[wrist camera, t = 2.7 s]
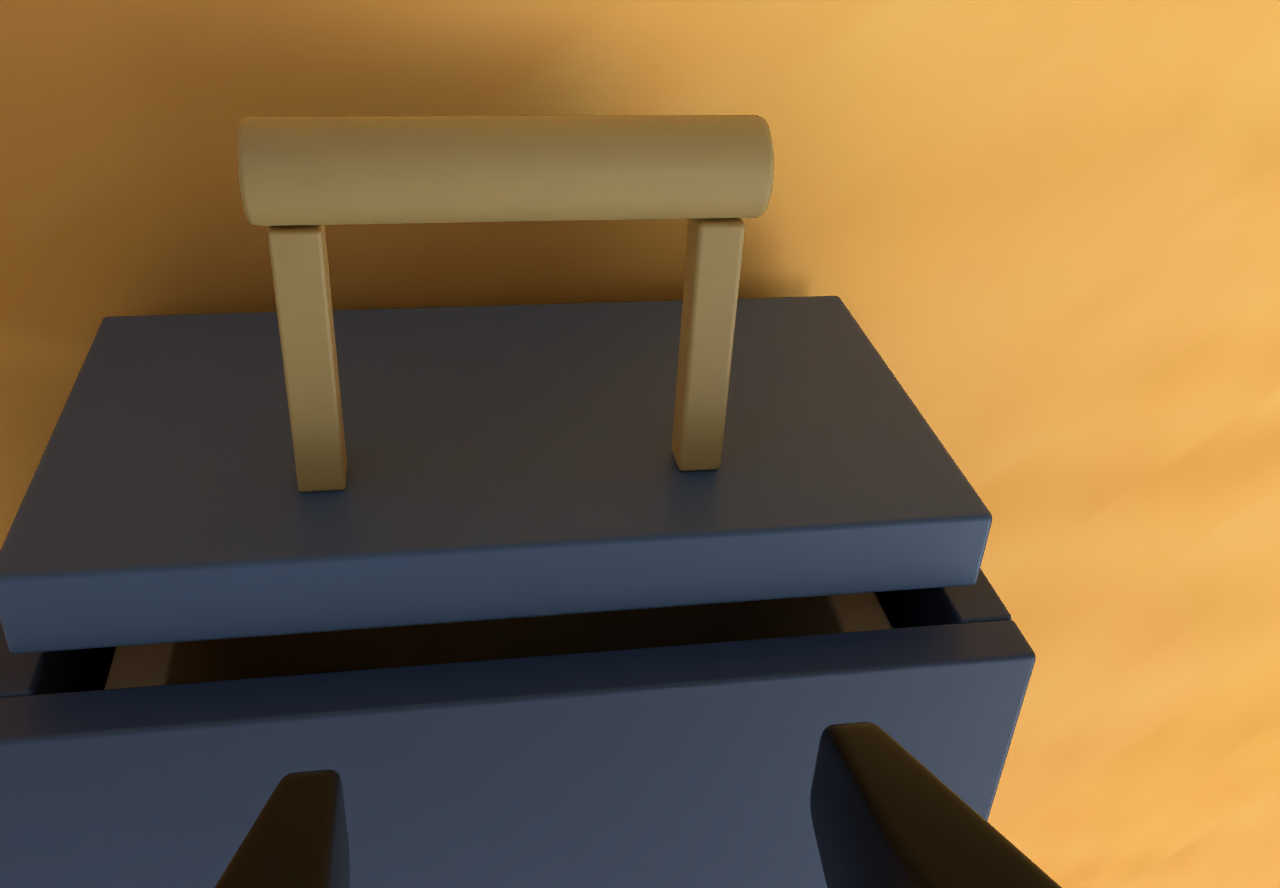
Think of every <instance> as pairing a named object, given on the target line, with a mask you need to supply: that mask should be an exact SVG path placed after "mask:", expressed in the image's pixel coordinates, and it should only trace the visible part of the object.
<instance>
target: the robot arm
mask: <svg viewBox="0 0 1280 888" xmlns="http://www.w3.org/2000/svg"><path fill="white" fill-rule="evenodd" d="M810 810H811V818H812V824H813V828H814V833H815V837H816V841H817V846H818V850H819V854H820V859H821V863H822V867H823V871H824V876H825V880H826V884H827V888H1061V887H1060V886H1059V885H1058V884H1057V883H1056V882H1055V881H1054V880H1052V879H1051V878H1050V877H1049V876H1048V875H1047V874H1046V873H1045V872H1043V871H1042V870H1041V869H1040V868H1039V867H1038V866H1037V865H1035V864H1034V863H1033V862H1032V861H1031V860H1030V859H1029V858H1028V857H1026V856H1025V855H1024V854H1023V853H1022V852H1021V851H1020V850H1019V849H1017V848H1016V847H1015V846H1014V845H1013V844H1012V843H1011V842H1010V841H1008V840H1007V839H1006V838H1005V837H1004V836H1003V835H1002V834H1000V833H999V832H998V831H997V830H996V829H995V828H994V827H993V826H991V825H990V824H989V823H988V822H987V821H986V820H985V819H984V818H982V817H981V816H980V815H979V814H978V813H977V812H976V811H974V810H973V809H972V808H971V807H970V806H969V805H968V804H967V803H965V802H964V801H963V800H962V799H961V798H960V797H959V796H958V795H956V794H955V793H954V792H953V791H952V790H951V789H950V788H948V787H947V786H946V785H945V784H944V783H943V782H942V781H941V780H939V779H938V778H937V777H936V776H935V775H934V774H933V773H932V772H930V771H929V770H928V769H927V768H926V767H925V766H924V765H923V764H921V763H920V762H919V761H918V760H917V759H916V758H915V757H913V756H912V755H911V754H910V753H909V752H908V751H907V750H906V749H904V748H903V747H902V746H901V745H900V744H899V743H898V742H897V741H895V740H894V739H893V738H892V737H891V736H890V735H889V734H887V733H886V732H885V731H884V730H883V729H882V728H880V727H879V726H878V725H876V724H874V723H871V722H855V723H844V724H833V725H830V726H828V727H826V728H825V729H824V731H823V733H822V735H821V739H820V743H819V749H818V754H817V760H816V765H815V771H814V776H813V782H812V787H811V794H810ZM214 888H350V862H349V843H348V833H347V825H346V816H345V807H344V799H343V790H342V782H341V778H340V775H339V774H338V772H336V771H334V770H331V769H328V770H317V771H306V772H295V773H290V774H288V775H286V776H284V777H283V778H282V779H281V781H280V782H279V783H278V785H277V786H276V788H275V790H274V791H273V793H272V794H271V796H270V798H269V799H268V801H267V803H266V804H265V806H264V807H263V809H262V811H261V812H260V814H259V816H258V817H257V819H256V821H255V822H254V824H253V825H252V827H251V829H250V830H249V832H248V834H247V835H246V837H245V839H244V840H243V842H242V843H241V845H240V847H239V848H238V850H237V852H236V853H235V855H234V856H233V858H232V860H231V861H230V863H229V865H228V866H227V868H226V870H225V871H224V873H223V874H222V876H221V878H220V879H219V881H218V883H217V884H216V886H215V887H214Z"/></svg>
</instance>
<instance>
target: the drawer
mask: <svg viewBox="0 0 1280 888" xmlns="http://www.w3.org/2000/svg"><path fill="white" fill-rule="evenodd" d="M237 166H238V178H239V187H240V194H241V200H242V205H243V209H244V213H245V215H246V217H247V219H248V221H249V223H250V224H253V225H255V226H269V230H268V242H269V251H270V259H271V267H272V276H273V284H274V292H275V300H276V309H277V312H253V313H218V314H183V315H148V316H112V317H105V318H103V320H102V322H101V325H100V327H99V329H98V331H97V334H96V336H95V338H94V340H93V343H92V345H91V347H90V350H89V352H88V354H87V356H86V359H85V361H84V363H83V365H82V368H81V370H80V372H79V374H78V377H77V379H76V381H75V383H74V386H73V388H72V390H71V392H70V395H69V397H68V399H67V401H66V404H65V406H64V408H63V410H62V413H61V415H60V417H59V420H58V422H57V424H56V426H55V429H54V431H53V433H52V435H51V438H50V440H49V442H48V444H47V447H46V449H45V451H44V453H43V456H42V458H41V460H40V462H39V465H38V467H37V469H36V471H35V474H34V476H33V478H32V480H31V483H30V485H29V487H28V490H27V492H26V494H25V496H24V499H23V501H22V503H21V505H20V508H19V510H18V512H17V514H16V517H15V519H14V521H13V523H12V526H11V528H10V530H9V532H8V535H7V537H6V539H5V541H4V544H3V546H2V548H1V550H0V621H1V624H2V627H3V631H4V634H5V637H6V641H7V644H8V647H9V651H10V652H11V653H15V654H20V653H34V652H48V651H62V650H76V649H90V648H103V647H116V649H115V652H114V656H113V660H112V663H111V667H110V670H109V674H108V677H107V681H106V684H105V688H104V690H106V689H119V688H132V687H145V686H158V685H171V684H184V683H197V682H210V681H223V680H235V679H248V678H261V677H274V676H287V675H300V674H313V673H326V672H339V671H352V670H365V669H378V668H391V667H404V666H417V665H429V664H442V663H455V662H468V661H481V660H494V659H507V658H520V657H533V656H546V655H559V654H572V653H585V652H598V651H611V650H623V649H636V648H649V647H662V646H675V645H688V644H701V643H714V642H727V641H740V640H753V639H766V638H779V637H792V636H805V635H817V634H830V633H843V632H856V631H869V630H882V629H893V628H892V626H891V624H890V622H889V620H888V618H887V616H886V614H885V612H884V611H883V609H882V607H881V605H880V603H879V601H878V599H877V597H876V595H875V593H874V592H884V591H897V590H911V589H925V588H939V587H953V586H967V585H973V584H975V583H976V582H977V578H978V574H979V570H980V566H981V562H982V558H983V554H984V550H985V546H986V542H987V538H988V534H989V530H990V527H991V523H992V516H991V513H990V512H989V510H988V509H987V507H986V506H985V505H984V503H983V502H982V500H981V499H980V497H979V496H978V495H977V493H976V492H975V490H974V489H973V487H972V486H971V485H970V483H969V482H968V480H967V479H966V478H965V476H964V475H963V473H962V472H961V470H960V469H959V468H958V466H957V465H956V463H955V462H954V460H953V459H952V458H951V456H950V455H949V453H948V452H947V450H946V449H945V448H944V446H943V445H942V443H941V442H940V440H939V439H938V438H937V436H936V435H935V433H934V432H933V430H932V429H931V428H930V426H929V425H928V423H927V422H926V420H925V419H924V418H923V416H922V415H921V413H920V412H919V410H918V409H917V408H916V406H915V405H914V403H913V402H912V400H911V399H910V398H909V396H908V395H907V393H906V392H905V390H904V389H903V388H902V386H901V385H900V383H899V382H898V381H897V379H896V378H895V376H894V375H893V373H892V372H891V371H890V369H889V368H888V366H887V365H886V363H885V362H884V361H883V359H882V358H881V356H880V355H879V353H878V352H877V351H876V349H875V348H874V346H873V345H872V343H871V342H870V341H869V339H868V338H867V336H866V335H865V333H864V332H863V331H862V329H861V328H860V326H859V325H858V323H857V322H856V321H855V319H854V318H853V316H852V315H851V313H850V312H849V311H848V309H847V308H846V306H845V305H844V303H843V302H842V301H841V299H840V298H839V297H837V296H815V297H780V298H744V299H738V291H739V281H740V272H741V262H742V252H743V242H744V233H745V225H744V222H743V221H742V219H741V218H755V217H758V216H760V215H762V214H763V213H764V212H765V210H766V208H767V206H768V203H769V200H770V196H771V192H772V186H773V177H774V152H773V143H772V138H771V134H770V130H769V127H768V124H767V122H766V121H765V119H764V118H762V117H759V116H757V115H659V116H248V117H245V118H243V119H242V120H241V121H240V125H239V128H238V134H237ZM643 219H689V226H688V239H687V252H686V265H685V278H684V291H683V300H674V301H639V302H604V303H569V304H534V305H499V306H464V307H428V308H393V309H358V310H333V309H332V298H331V287H330V277H329V266H328V255H327V245H326V234H325V225H347V224H406V223H465V222H524V221H584V220H643Z"/></svg>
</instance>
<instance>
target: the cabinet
mask: <svg viewBox="0 0 1280 888" xmlns="http://www.w3.org/2000/svg"><path fill="white" fill-rule="evenodd" d="M874 593H875V595H876V597H877V599H878V601H879V603H880V605H881V607H882V609H883V611H884V612H885V614H886V616H887V618H888V620H889V622H890V624H891V626H892V628H893V629H882V630H869V631H856V632H843V633H830V634H817V635H805V636H792V637H779V638H766V639H753V640H740V641H727V642H714V643H701V644H688V645H675V646H662V647H649V648H636V649H623V650H611V651H598V652H585V653H572V654H559V655H546V656H533V657H520V658H507V659H494V660H481V661H468V662H455V663H442V664H429V665H417V666H404V667H391V668H378V669H365V670H352V671H339V672H326V673H313V674H300V675H287V676H274V677H261V678H248V679H235V680H223V681H210V682H197V683H184V684H171V685H158V686H145V687H132V688H119V689H106V690H104V688H105V684H106V681H107V677H108V674H109V670H110V667H111V663H112V660H113V656H114V652H115V649H116V647H103V648H90V649H76V650H62V651H48V652H34V653H20V654H15V653H11V652H10V651H9V647H8V644H7V641H6V637H5V634H4V631H3V627H2V624H1V621H0V888H214V887H215V886H216V884H217V883H218V881H219V879H220V878H221V876H222V874H223V873H224V871H225V870H226V868H227V866H228V865H229V863H230V861H231V860H232V858H233V856H234V855H235V853H236V852H237V850H238V848H239V847H240V845H241V843H242V842H243V840H244V839H245V837H246V835H247V834H248V832H249V830H250V829H251V827H252V825H253V824H254V822H255V821H256V819H257V817H258V816H259V814H260V812H261V811H262V809H263V807H264V806H265V804H266V803H267V801H268V799H269V798H270V796H271V794H272V793H273V791H274V790H275V788H276V786H277V785H278V783H279V782H280V781H281V779H282V778H283V777H284V776H286V775H288V774H290V773H295V772H306V771H317V770H328V769H331V770H334V771H336V772H338V774H339V775H340V778H341V782H342V790H343V799H344V807H345V816H346V825H347V833H348V843H349V862H350V888H827V884H826V880H825V876H824V871H823V867H822V863H821V859H820V854H819V850H818V846H817V841H816V837H815V833H814V828H813V824H812V818H811V810H810V794H811V787H812V782H813V776H814V771H815V765H816V760H817V754H818V749H819V743H820V739H821V735H822V733H823V731H824V729H825V728H826V727H828V726H830V725H833V724H844V723H855V722H871V723H874V724H876V725H878V726H879V727H880V728H882V729H883V730H884V731H885V732H886V733H887V734H889V735H890V736H891V737H892V738H893V739H894V740H895V741H897V742H898V743H899V744H900V745H901V746H902V747H903V748H904V749H906V750H907V751H908V752H909V753H910V754H911V755H912V756H913V757H915V758H916V759H917V760H918V761H919V762H920V763H921V764H923V765H924V766H925V767H926V768H927V769H928V770H929V771H930V772H932V773H933V774H934V775H935V776H936V777H937V778H938V779H939V780H941V781H942V782H943V783H944V784H945V785H946V786H947V787H948V788H950V789H951V790H952V791H953V792H954V793H955V794H956V795H958V796H959V797H960V798H961V799H962V800H963V801H964V802H965V803H967V804H968V805H969V806H970V807H971V808H972V809H973V810H974V811H976V812H977V813H978V814H979V815H980V816H981V817H982V818H984V819H985V820H986V821H987V820H988V817H989V814H990V810H991V807H992V803H993V800H994V797H995V793H996V790H997V787H998V783H999V780H1000V777H1001V773H1002V770H1003V767H1004V763H1005V760H1006V757H1007V753H1008V750H1009V746H1010V743H1011V740H1012V736H1013V733H1014V730H1015V726H1016V723H1017V720H1018V716H1019V713H1020V710H1021V706H1022V703H1023V700H1024V696H1025V693H1026V689H1027V686H1028V683H1029V679H1030V676H1031V673H1032V669H1033V666H1034V663H1035V653H1034V652H1033V650H1032V648H1031V647H1030V645H1029V644H1028V642H1027V641H1026V639H1025V638H1024V636H1023V635H1022V633H1021V631H1020V630H1019V628H1018V627H1017V625H1016V624H1015V622H1014V621H1012V620H1011V615H1010V614H1009V612H1008V610H1007V609H1006V607H1005V606H1004V604H1003V603H1002V601H1001V600H1000V598H999V597H998V595H997V593H996V592H995V590H994V589H993V587H992V586H991V584H990V583H989V581H988V580H987V578H986V576H985V575H984V573H983V572H982V570H981V569H980V570H979V574H978V578H977V582H976V583H975V584H973V585H967V586H953V587H939V588H925V589H911V590H897V591H884V592H874Z"/></svg>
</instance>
